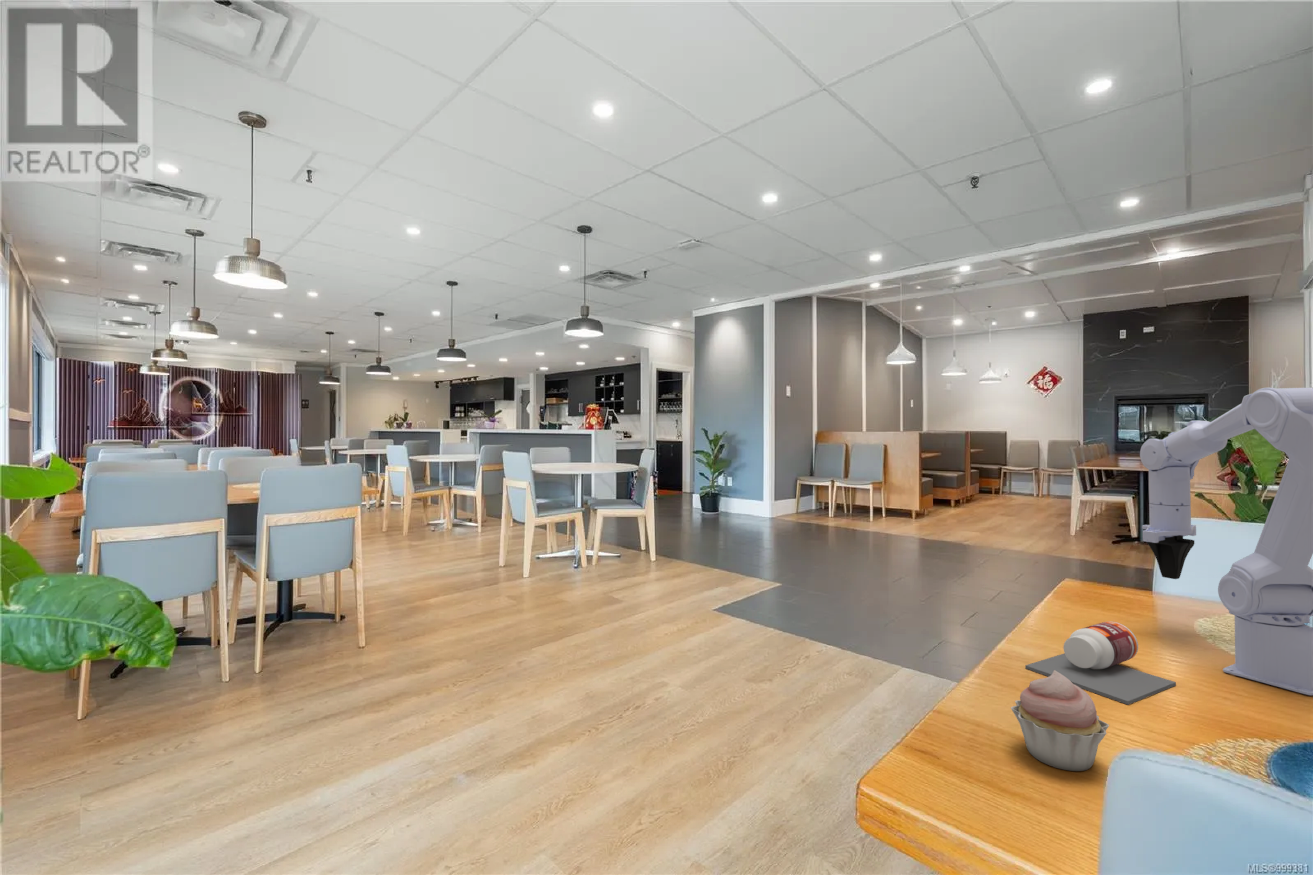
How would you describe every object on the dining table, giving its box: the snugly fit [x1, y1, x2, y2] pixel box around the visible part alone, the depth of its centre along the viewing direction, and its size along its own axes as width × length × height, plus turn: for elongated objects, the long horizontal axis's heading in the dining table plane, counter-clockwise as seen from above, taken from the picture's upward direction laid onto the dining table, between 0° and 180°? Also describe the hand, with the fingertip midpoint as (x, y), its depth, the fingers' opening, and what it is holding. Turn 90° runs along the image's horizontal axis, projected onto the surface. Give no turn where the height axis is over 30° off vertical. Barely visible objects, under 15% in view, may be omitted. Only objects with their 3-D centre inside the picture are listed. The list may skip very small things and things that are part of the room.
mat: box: [1024, 653, 1177, 706], centre depth 88 cm, size 14×13×1 cm
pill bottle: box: [1063, 621, 1139, 670], centre depth 91 cm, size 6×6×11 cm
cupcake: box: [1010, 670, 1110, 772], centre depth 67 cm, size 9×9×10 cm
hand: (1170, 577), depth 105 cm, fingers closed
